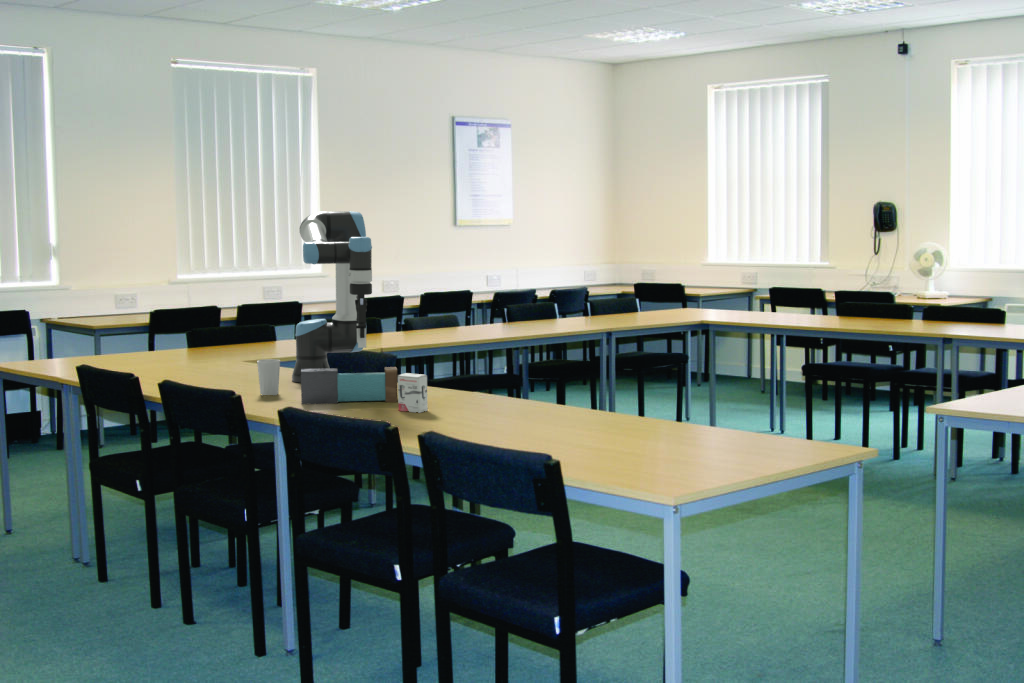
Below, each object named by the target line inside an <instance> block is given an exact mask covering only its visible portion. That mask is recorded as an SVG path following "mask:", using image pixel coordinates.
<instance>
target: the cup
mask: <svg viewBox="0 0 1024 683" xmlns="http://www.w3.org/2000/svg"><path fill="white" fill-rule="evenodd" d="M256 363H257V373H258V382H259V393H260V394H262V395H261V396H263V395H273V396H278V395H279V393H280V390H279V385H280V369H281V368H280V367H281V360H280V359H276V358H275V359H274V358H273V359H271V358H269V359H268V358H266V359H259V360H257V361H256ZM260 394H259V395H260ZM277 394H278V395H277Z"/></svg>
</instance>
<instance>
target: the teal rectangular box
mask: <svg viewBox="0 0 1024 683" xmlns="http://www.w3.org/2000/svg"><path fill="white" fill-rule="evenodd" d="M337 381H338V402H365V401H366V402H368V401H369V402H372V401H373V402H374V401H375V402H376V401H386V390H385V371H384V372H356V373H355V372H351V373H350V372H345V373H343V372H342V373H339V372H337Z"/></svg>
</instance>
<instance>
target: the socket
mask: <svg viewBox="0 0 1024 683" xmlns="http://www.w3.org/2000/svg"><path fill="white" fill-rule="evenodd" d="M384 372H385V390H386V400H385V403H396V402H397V403H398V368H397V367H396V366H390V367H389V366H388V367H387V366H384Z"/></svg>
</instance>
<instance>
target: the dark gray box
mask: <svg viewBox="0 0 1024 683" xmlns="http://www.w3.org/2000/svg"><path fill="white" fill-rule="evenodd" d="M337 373H338V367H336V368H335V367H334V368H333V367H331V368H325V369H301V383H300V386H301V387H300V390H301V392H300V393H301V395H300V396H301V397H300V398H301V401H300V402H301V405H323V404H325V405H326V404H328V405H329V404H339V401H338V381H337Z"/></svg>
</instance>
